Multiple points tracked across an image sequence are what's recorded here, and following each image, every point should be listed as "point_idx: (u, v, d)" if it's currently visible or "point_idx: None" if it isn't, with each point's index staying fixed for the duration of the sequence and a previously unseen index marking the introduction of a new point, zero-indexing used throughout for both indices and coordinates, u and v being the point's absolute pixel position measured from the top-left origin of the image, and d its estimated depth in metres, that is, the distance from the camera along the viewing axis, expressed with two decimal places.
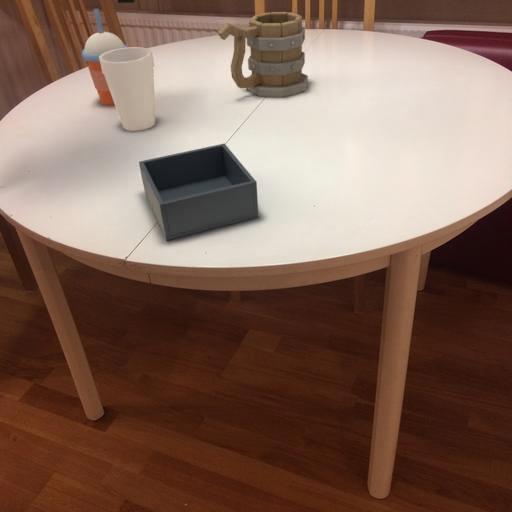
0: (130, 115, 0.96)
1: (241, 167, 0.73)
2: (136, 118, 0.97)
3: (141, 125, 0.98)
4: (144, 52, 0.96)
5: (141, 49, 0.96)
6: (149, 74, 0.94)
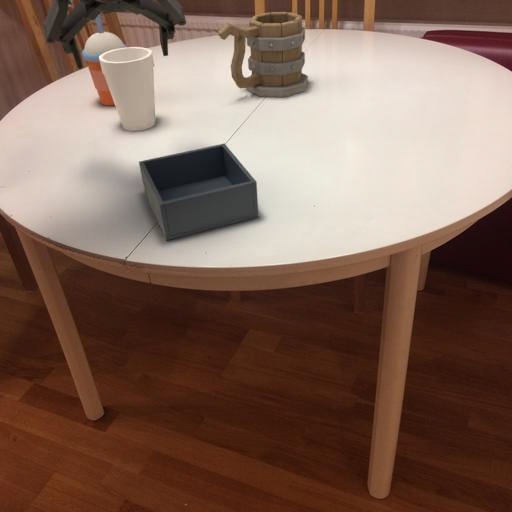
0: (130, 115, 0.96)
1: (241, 167, 0.73)
2: (136, 118, 0.97)
3: (141, 125, 0.98)
4: (144, 52, 0.96)
5: (141, 49, 0.96)
6: (149, 74, 0.94)
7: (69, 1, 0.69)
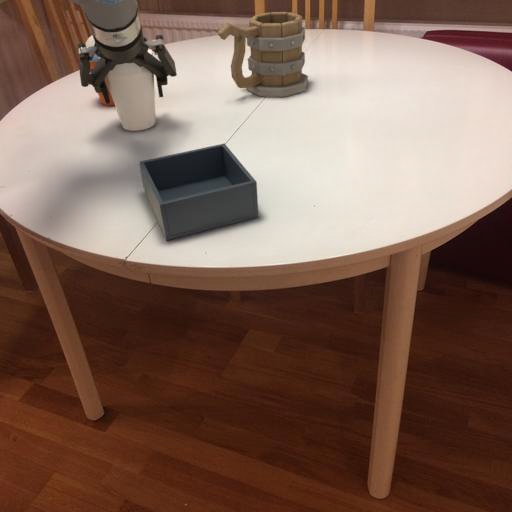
0: (130, 115, 0.96)
1: (241, 167, 0.73)
2: (136, 118, 0.97)
3: (141, 125, 0.98)
4: None
5: None
6: (149, 74, 0.94)
7: (89, 57, 0.84)
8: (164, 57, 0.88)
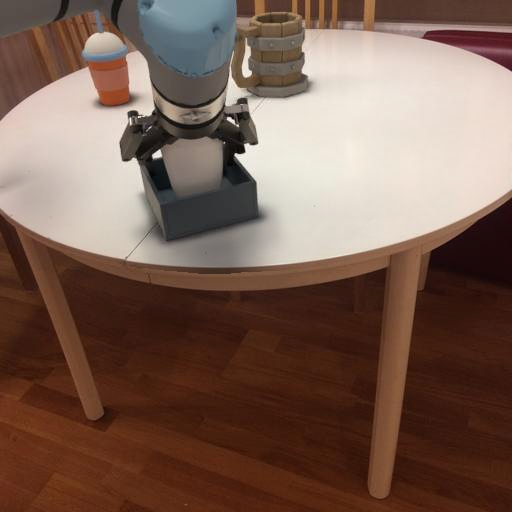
0: None
1: (241, 167, 0.73)
2: None
3: None
4: None
5: None
6: (220, 142, 0.68)
7: (143, 130, 0.59)
8: (247, 126, 0.62)
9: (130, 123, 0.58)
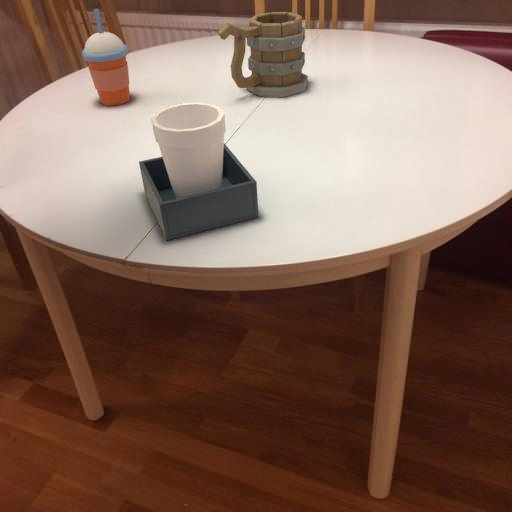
0: None
1: (241, 167, 0.73)
2: None
3: None
4: (211, 110, 0.70)
5: (206, 106, 0.71)
6: (220, 142, 0.68)
7: None
8: None
9: None
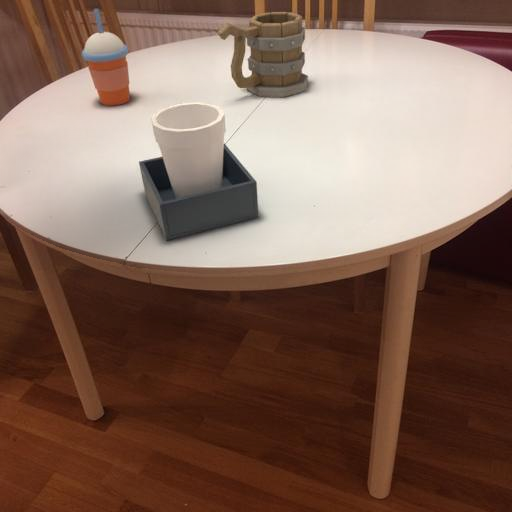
0: None
1: (241, 167, 0.73)
2: None
3: None
4: (211, 110, 0.70)
5: (206, 106, 0.71)
6: (220, 142, 0.68)
7: None
8: None
9: None
